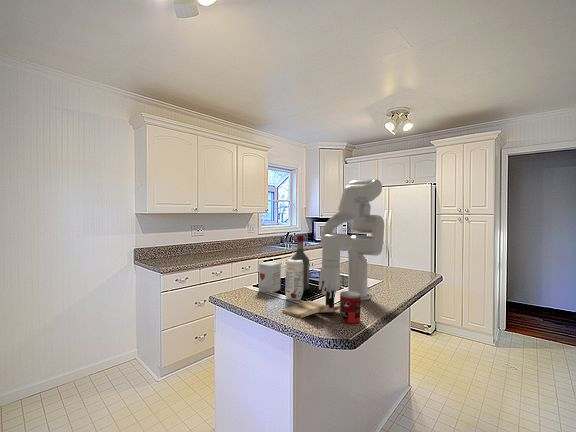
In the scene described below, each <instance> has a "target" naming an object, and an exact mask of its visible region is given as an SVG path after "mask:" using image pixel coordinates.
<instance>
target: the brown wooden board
mask: <svg viewBox="0 0 576 432" xmlns="http://www.w3.org/2000/svg"><path fill="white" fill-rule="evenodd" d="M324 305H325V304H324V303H323V304H322V303H319V302H315V301H312V300H306V301H303V302H300V303H298V304H295V305H292V306H290V307H287V308H284V309H282V313H284V314H286V315H289V316H292V317H296V318H298V319H300V318H301V317H300V315H301V314H304V313H306V312H309V311H311V310H314V309H317V308H319V307H322V306H324Z"/></svg>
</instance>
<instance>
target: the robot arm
mask: <svg viewBox="0 0 576 432" xmlns="http://www.w3.org/2000/svg"><path fill="white" fill-rule="evenodd" d="M382 190H383V184H382V182H381V180H380V179H376V178H373V179H356V180H351V181H350V182H349V183H348V184H347V185H346V186H345V187H344V189H343V190H342V194H341V198H340V202H339V205H338V208H337V211H336V213H335V214H333V215H332V216H331V217H330V218H329V219H328V220H327V221H326V223H324V226H323V228H322V233H321V235H320V236H321V237H320V246H321V247H322V251H321V252H322V253H321V255H322V260H321V268H320V272H319V279H318V289H319V291H321V295H324V297H325V305H329V307H330V308H332V307H334V305H335V297H336V293H337V292H338V291H339V289H340V287H341V270H340V268H341V266H340V265H341V252H347V254H348V255H347V256H348V266H347V267H348V271H347V272H348V274H347V278H348V280H347V283H348V284H347V285H348V286H347V288H348V289H347V291H353V292H357V293H360V294H361V301H367V300H368V301H369V300H370V299H371V294H369V293H368V291H370V290H371V288H370V286H368V272H369V271H368V266H369V264H368V260H367V259H366V257H365V255H366V256H374V257H377V256H380V255H381V254H382V251H383V244H384V236H385V235H384V234H385V221H384V218H383V217H382V216H381V215H379V214H371V209H372V207H371V206H372V205H371V203H370V202H372V201H374V200H375V199H376V198H378V197H379V196H380V195H381V194H382ZM350 221H352V222H351V228H352V231H353V232H354V233H359V234H370V235H359V234H356V235H355V234H354V235H349V234H348V233H347V234H346V233H339V232H338V233H336V232H334V230H335V229H336V228H338V227H339V226H340V225H342V224H344V223H345V224H346V223H347V222H350Z"/></svg>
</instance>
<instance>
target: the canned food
mask: <svg viewBox="0 0 576 432" xmlns="http://www.w3.org/2000/svg"><path fill="white" fill-rule="evenodd" d="M361 301H362V300H361V294H360V293H357V292H353V291H348V290H346V291H345V290H344V291H341V292H340V295H339V305H340V309H339V319H340V322H342V323H344V324H347V325H357V324H359V323H360V321H361V309H362V308H361V303H362V302H361Z"/></svg>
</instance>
